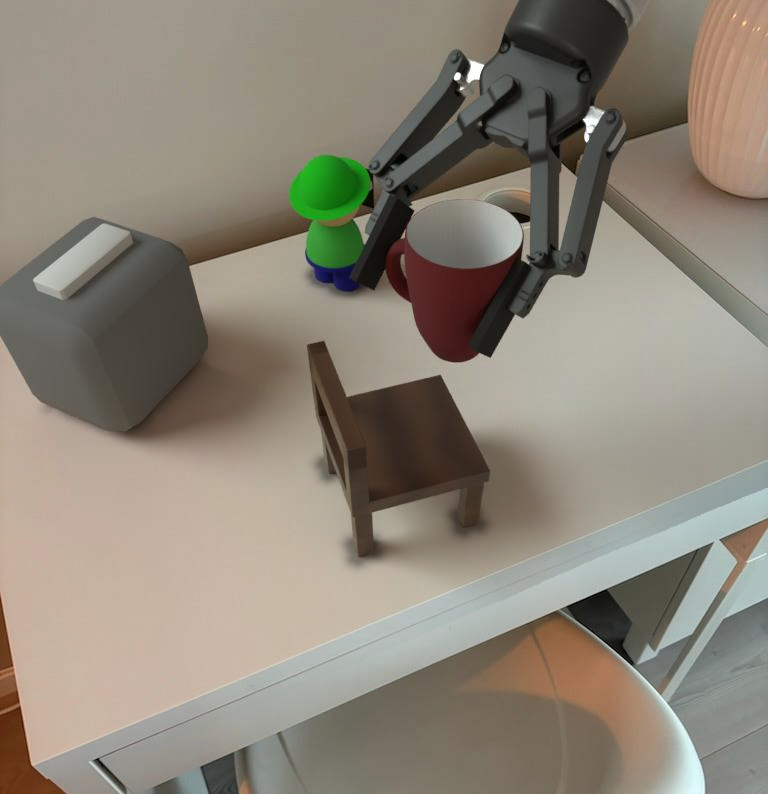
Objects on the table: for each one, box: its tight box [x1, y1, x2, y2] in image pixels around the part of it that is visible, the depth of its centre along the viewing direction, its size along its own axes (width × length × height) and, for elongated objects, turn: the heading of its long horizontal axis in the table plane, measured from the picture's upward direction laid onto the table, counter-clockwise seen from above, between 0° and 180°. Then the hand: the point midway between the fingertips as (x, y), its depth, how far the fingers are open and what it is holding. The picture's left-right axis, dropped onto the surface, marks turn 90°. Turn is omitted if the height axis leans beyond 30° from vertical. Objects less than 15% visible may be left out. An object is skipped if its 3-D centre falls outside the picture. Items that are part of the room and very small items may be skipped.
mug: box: [385, 198, 525, 364], centre depth 55 cm, size 10×8×10 cm
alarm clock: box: [0, 216, 209, 432], centre depth 74 cm, size 16×11×16 cm
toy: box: [288, 154, 375, 292], centre depth 84 cm, size 9×9×15 cm
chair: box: [306, 340, 491, 558], centre depth 65 cm, size 12×12×15 cm
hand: (417, 317), depth 54 cm, fingers closed on mug, 11 cm apart
